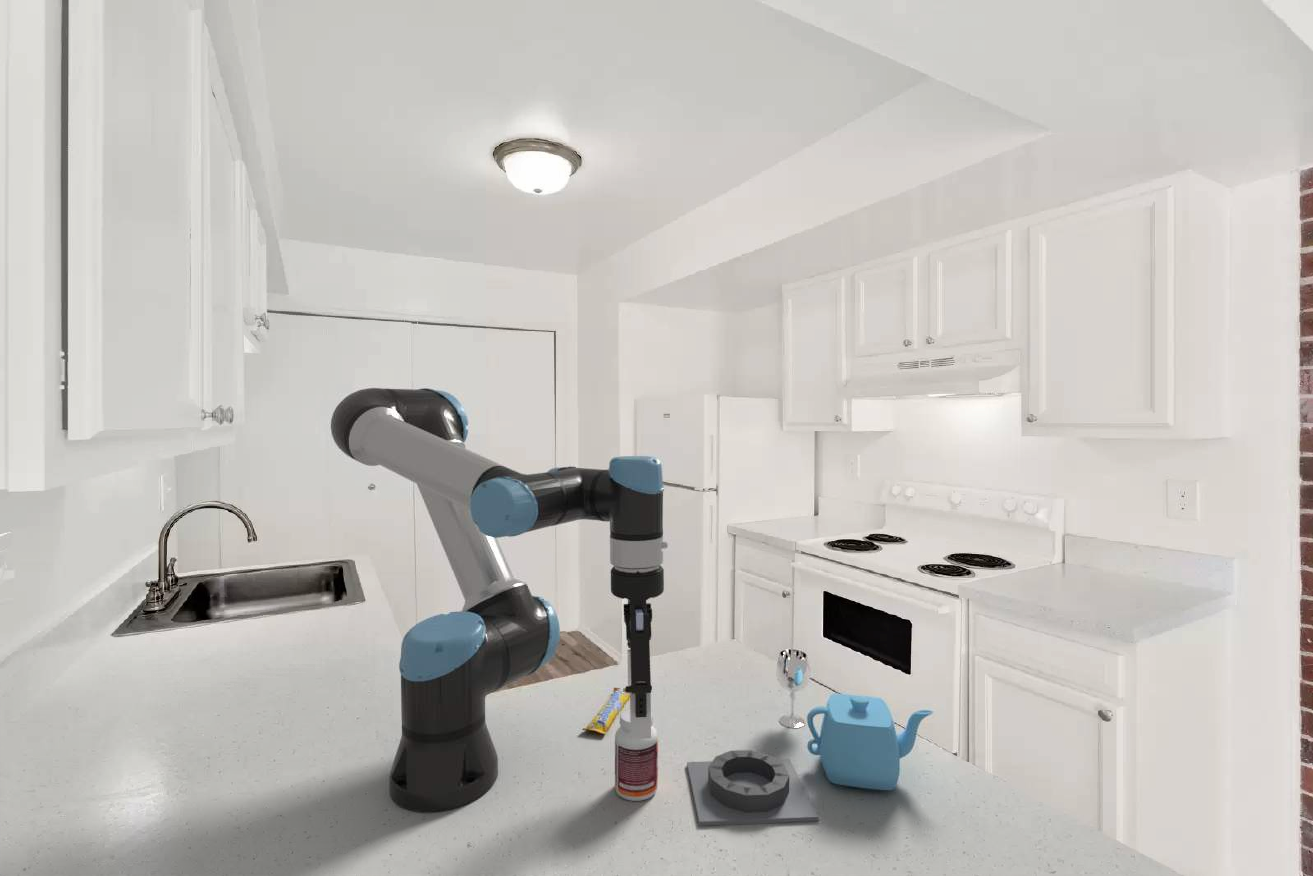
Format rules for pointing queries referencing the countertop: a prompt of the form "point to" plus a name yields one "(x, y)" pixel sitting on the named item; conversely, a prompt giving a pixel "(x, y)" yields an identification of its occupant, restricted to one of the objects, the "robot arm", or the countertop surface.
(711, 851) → the countertop surface
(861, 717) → the teapot
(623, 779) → the pill bottle
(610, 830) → the countertop surface
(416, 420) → the robot arm
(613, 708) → the candy bar
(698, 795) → the grey ring base plate
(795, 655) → the wineglass
